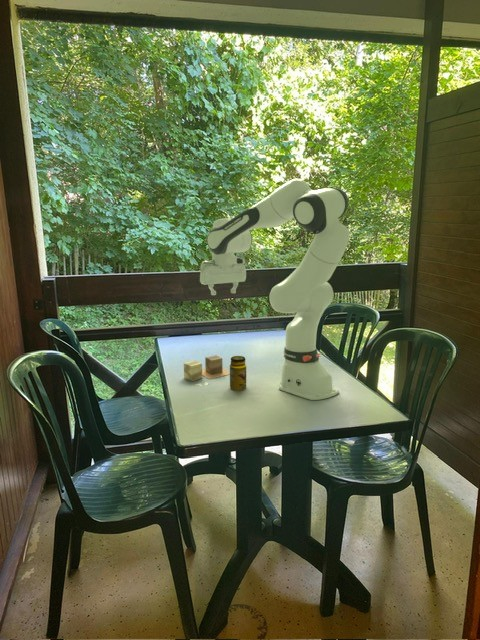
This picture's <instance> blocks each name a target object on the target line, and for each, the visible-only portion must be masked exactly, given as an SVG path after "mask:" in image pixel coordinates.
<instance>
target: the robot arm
mask: <svg viewBox="0 0 480 640" xmlns="http://www.w3.org/2000/svg"><path fill="white" fill-rule="evenodd" d="M349 203H350V201H349V197H348V195H347V193H346V192H345V190H343V189H340V188H339V187H335V186H331V187H330V186H328V187H318V188H317V189H316V190H314V189H312V188H311V187H310V185H309V184H308V183H307V182H306V181H305V180H304V179H301V178H293V179H291V180H289V181H287V182H285V183H283V184H282V185H280V186H279V187H277V188H276V189H275V190H273V191H272V192H271V193H269V194H268V195H267V196H266V197H264V198H263V199H262V200H260V201H259V202H256V203H255V204H254V205H252V206H251V207H249V208H247V209H246V210H244V211H243V210H242V211H241V212H240V213H239V214H237V215H236V216H234V217H233V218H229V217H228V218H227V217H224V218H218V219H216V220H214V221H213V224H212V228H211V229H210V231H209V232H208V234H207V236H206V244H207V247H208V248H209V250H210V251H211V257H212V258H211V260H204V261H202V262H201V263H200V266H199V269H200V270H199V271H200V272H199V273H200V274H199V283H200V284H201V285H204V286H207V285H208V289H209V290H210V295H211V296H216V295H217V290H215V289H214V286H215V285H218V284H221V285H222V284H232V285H233V286H232V288H230V294H236V293H237V288H238V286H239V283H241V282H242V283H243V282H244V283H245V281H246V279H247V269H246V265H245V262H246V260H245V258H243V257H240V256H236V255H235V254H237V253H245V252H248V251H249V250H250V249H251V247H252V245H253V235H252V233H251V230H256V229H266V228H268V229H269V228H276V227H279V226H281V225H284V224H286V223H288V222H290V221H291V220H292V219H293V218H294V220H295V222H296V223H297V224H298V225H299V227H301V229H305V231H306V232H307V233H308V234H310V235H314V237H313V239H312V241H311V243H310V245H309V247H308V249H307V251H306V253H305V255H304V256H303V258H302V259H301V262H300V263H299V264H298V266H297V267H296V268H295V269H294V270H293V271H292V273H290V274H289V276H287V277H286V278H285V279H284V280H282V281H281V282H279V283H277V284H276V285H274V286H273V287H272V288H271V290H270V292H269V296H268V297H269V303H270V306H271V308H272V309H273V310H274V311H275V312H277V313H283V314H294V313H296V314H295V316H294V318H293V319H292V321H290V322H289V323H288V324H287V325H286V328H285V346H284V349H283V357H284V361H283V365H282V370H281V371H282V372H281V380H280V385H279V386H278V389H279V390H280V391H283V392H285V393H289V394H293V395H294V396H298V397H301V398H303V399H306V400H310V401H318V400H319V401H320V400H324V399H328V398H329V399H330V398H332V397H334V396H336V395H338V394H339V393H340V389H339V388H337V387H336V386H334V385H333V378H332V375H331V373H330V372H329V370H328V369H326V367H325V366H324V365H323V364H322V362H321V361H320V357H321V355H322V353H318V350H317V347H316V345H317V333H318V326H319V323H320V321H321V317H322V316H323V314H324V312H325V310H326V309H327V308H328V307H329V306H331V304H332V302H333V299H334V290H333V287H332V285H331V284H330V283H329V282H328V281H329V280H330V279H331V278H332V276H333V274H334V272H335V270H336V268H337V267H338V265H339V263H340V262H341V259H342V257H343V256H344V253H345V251H346V249H347V246H348V244H349V241H350V238H351V237H350V236H351V235H350V230H349V229H348V227H347V226H346V225H345V224H343V223H341V222H340V219H341V218H342V217H343V216H344V215H345V214H346V213H347V211H348V208H349V207H350V206H349Z"/></svg>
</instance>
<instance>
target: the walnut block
mask: <svg viewBox="0 0 480 640" xmlns="http://www.w3.org/2000/svg"><path fill="white" fill-rule="evenodd" d="M204 358H205V359H204V360H205V361H204V362H205V363H204V364H205V369H206V372H207V373H209V374H211V375H214V374H218V373H223V369H224V368H223V358H222V357H221V356H219V355H210V356H205V357H204ZM222 368H223V369H222Z"/></svg>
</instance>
